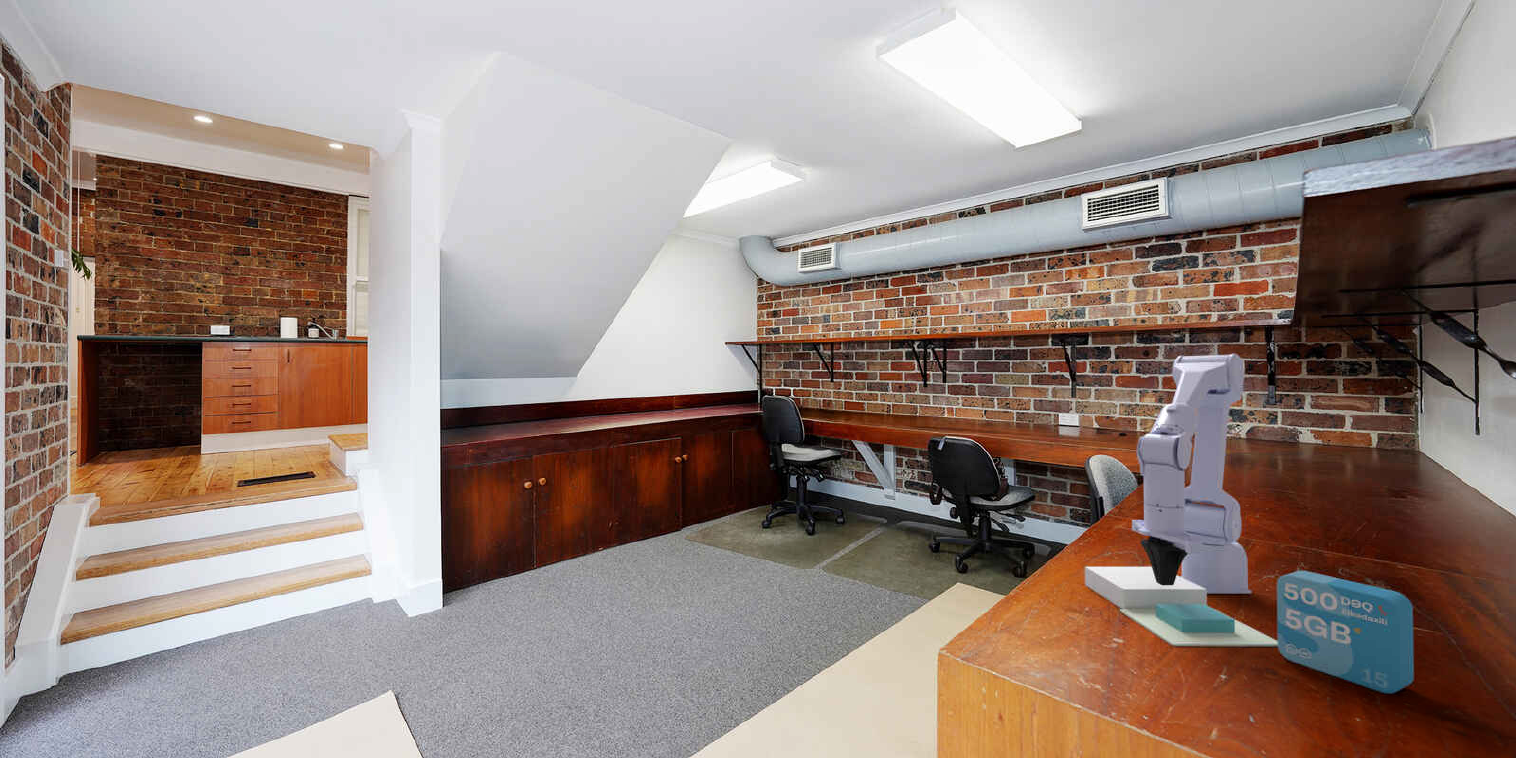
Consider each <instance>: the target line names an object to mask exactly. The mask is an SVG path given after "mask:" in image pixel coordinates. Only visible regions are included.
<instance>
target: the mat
mask: <svg viewBox="0 0 1516 758" xmlns="http://www.w3.org/2000/svg"><path fill="white" fill-rule="evenodd" d="M1119 612H1120V613H1122V614H1123V615H1125V616H1127V617H1128V618H1130V619H1131V620H1133V621H1134V622H1136V623H1138V625H1140V626H1142V627H1143V628H1145V629H1146V630H1148V631H1149V632H1151V633H1153V634H1154V635H1155V636H1157V637H1159V638H1160V639H1162V640H1163V641H1165V642H1166V643H1167V644H1170V645H1171V646H1173V647H1278V640H1277V639H1274V638H1272V637H1271V636H1268V635H1266V634H1265V633H1263V632H1261V631H1258V630H1257V629H1255V628H1253V627H1250V626H1249V625H1247V624H1244V623H1243V622H1241V621H1239V620H1237V619H1235V618H1233V617H1231V618H1232V619H1234V620H1235V633H1197V632H1180V631H1179V630H1177V629H1175V628H1174V627H1172V626H1170V625H1169V624H1167V623H1166V622H1164V621H1162V620H1161V619H1159V618H1157V617H1156V609H1122V608H1119Z"/></svg>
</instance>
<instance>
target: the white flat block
mask: <svg viewBox="0 0 1516 758" xmlns="http://www.w3.org/2000/svg"><path fill="white" fill-rule="evenodd" d="M1084 585H1085V586H1086V587H1087V588H1089V589H1090V590H1091V591H1094V592H1095V593H1097V594H1098V595H1100V596H1101V597H1103V598H1105V599H1106V600H1108V601H1109V602H1110V603H1112V604H1114V605H1115V606H1117V607H1119V609H1156V604H1205V605H1207V606H1208V597H1207V596H1208V594H1207V589H1205V588H1203V587H1201V586H1199V585H1196V584H1194V583H1192V582H1190V581H1188V580H1186V579H1184V578H1182V576H1180V575H1177V576H1176V579H1175V582H1174V585H1160V584H1158V583H1157V582H1156V579H1155V576H1154V572H1153V569H1152V566H1084Z"/></svg>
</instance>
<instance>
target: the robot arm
mask: <svg viewBox="0 0 1516 758" xmlns="http://www.w3.org/2000/svg"><path fill="white" fill-rule="evenodd" d="M1172 377H1173V381H1174V383H1175V386H1176V390H1175V393H1174V395H1173V399H1172V401H1171V403H1170V404H1166V405H1164V406H1163V407H1162V408H1161V409H1160V412H1159V414H1158V416H1157V418H1156V420H1155V423H1154V425H1153V426H1152V428H1151V430H1150V432H1149V433H1146V434H1145V435H1142V436H1140V438H1139V440H1138V442H1137V446H1136V457H1137V461H1138V463H1139V473H1140V476H1142V477H1143V519H1132V520H1131V531H1133V532H1135V533H1136V532H1137V533H1138V534H1140V535H1143V536H1148V537H1147V539H1140V545H1141V546H1142V548H1143V549H1144V552H1145V553H1146V555H1147V558H1148V559H1149V563H1150V565H1151V567H1152V569H1153V572H1154V576H1155V579H1156V582H1157V583H1158V584H1160V585H1174V582H1175V579H1176V576H1178V572H1179V569H1180V566H1181V577H1182V578H1184V579H1186V580H1188V581H1190V582H1192V583H1194V584H1196V585H1199V586H1201V587H1203V588H1205V589H1207V595H1208V594H1211V595H1212V594H1222V595H1223V594H1226V595H1227V594H1236V595H1237V594H1239V595H1240V594H1244V595H1245V594H1246V595H1247V594H1248V595H1249V594H1250V595H1251V594H1252V590H1250V589H1248V587H1249V584H1248V582H1249V581H1248V577H1249V575H1248V573H1249V572H1248V571H1249V570H1248V568H1249V567H1248V557H1247V553H1246V551H1245V548H1244V547H1243V545H1241V544H1240V543H1239V542H1238V540H1239V538H1240V537H1241V533H1242V517H1241V505H1240V503H1239V501H1237V500H1236V498H1234V497H1233V496H1231V495H1230V494H1229V493H1227V492H1226V491H1225V490H1224V489H1223V483H1224V474H1225V473H1224V472H1225V470H1224V469H1225V463H1226V461H1225V459H1226V451H1227V450H1226V448H1227V447H1226V446H1227V436H1228V425H1229V424H1228V422H1229V414H1230V410H1231V405H1232V404H1234V403H1237V402H1239V401H1241V399H1242V395H1243V393H1244V391H1243V390H1244V382H1245V381H1244V379H1245V370H1244V362H1243V359H1242V357H1241V356H1239V355H1238V354H1237V353H1231V354H1218V355H1215V354H1213V355H1189V356H1185V355H1179V356H1177V357H1176V359H1174V361H1173V364H1172ZM1194 434H1195V435H1194ZM1193 436H1194V447H1193V443H1192V438H1193ZM1192 448H1193V449H1192ZM1192 450H1193V456H1192ZM1191 456H1192V467H1191V479H1190V485H1189V486H1187V487H1186V486H1185V485H1186V484H1185V481H1186V480H1185V478H1186V477H1185V470H1186V469H1187V468H1188V467H1189V464H1190V463H1191Z"/></svg>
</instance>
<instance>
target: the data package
mask: <svg viewBox="0 0 1516 758" xmlns="http://www.w3.org/2000/svg"><path fill="white" fill-rule="evenodd" d="M1276 597H1277V598H1276V602H1277V603H1276V604H1277V605H1276V607H1277V608H1276V609H1277V611H1276V613H1277V617H1276V618H1277V619H1276V621H1277V641H1278V646H1277V648H1278V651H1279V652H1280V654H1281V655H1282V656H1283V657H1284V658H1285V659H1286V660H1288V661H1290V662H1292V663H1295V664H1298V665H1301V666H1304V667H1307V668H1309V669H1313V670H1316V671H1317V672H1318V671H1319V672H1322V673H1324V674H1327V675H1330V676H1333V677H1336V678H1339V679H1343V680H1344V681H1345V680H1346V681H1348V682H1350V683H1354V684H1356V685H1360V686H1362V687H1365V688H1368V689H1372V690H1373V691H1376V692H1380V693H1384V694H1395V693H1397V692H1399V691H1400V690H1402V689H1404V688H1406V687H1407V686H1409V685H1411V684H1412V683H1413V682H1414V677H1415V675H1414V674H1415V673H1414V663H1415V662H1414V615H1413V614H1414V613H1413V611H1414V610H1413V605H1412V602H1411V601H1410V600H1409V598H1408V597H1406V595H1405V594H1402V593H1401V592H1398V591H1394V590H1391V589H1387V588H1382V587H1379V586H1374V585H1369V584H1364V583H1361V582H1360V583H1359V582H1357V581H1352V580H1351V581H1350V580H1347V579H1342V578H1337V577H1333V576H1329V575H1324V574H1320V573H1317V572H1311V571H1307V570H1298V571H1294V572H1291V573H1287V574H1284V575H1281V576H1280V577H1279V578H1278V579H1277V582H1276Z"/></svg>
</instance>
